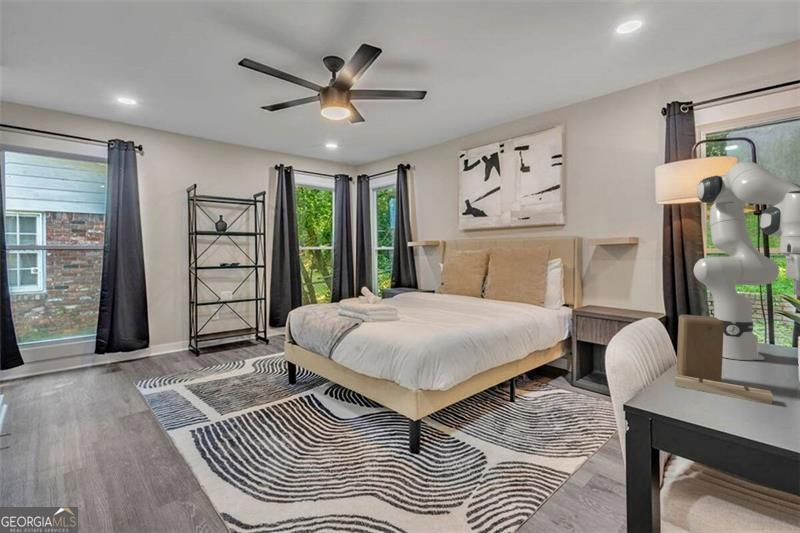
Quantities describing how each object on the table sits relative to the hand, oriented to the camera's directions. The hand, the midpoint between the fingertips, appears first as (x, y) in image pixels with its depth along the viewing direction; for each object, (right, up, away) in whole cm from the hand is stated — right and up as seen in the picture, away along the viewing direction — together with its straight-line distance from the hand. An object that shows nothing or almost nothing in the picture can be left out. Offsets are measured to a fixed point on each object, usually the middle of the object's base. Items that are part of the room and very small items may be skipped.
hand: (799, 295), depth 105 cm
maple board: (-21, -29, +2) cm, 36 cm away
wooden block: (-18, -28, +13) cm, 36 cm away
